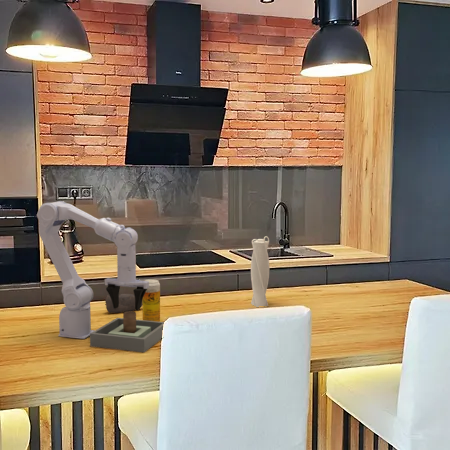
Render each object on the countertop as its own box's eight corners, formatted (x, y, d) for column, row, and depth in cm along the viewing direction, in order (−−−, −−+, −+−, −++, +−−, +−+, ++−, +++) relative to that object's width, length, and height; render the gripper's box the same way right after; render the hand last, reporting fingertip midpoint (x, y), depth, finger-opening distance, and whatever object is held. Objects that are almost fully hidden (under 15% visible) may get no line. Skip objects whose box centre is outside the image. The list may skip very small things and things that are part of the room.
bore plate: (108, 340, 171) (108, 333, 171) (122, 331, 181) (122, 324, 180) (137, 344, 168) (137, 336, 168) (151, 334, 178) (151, 326, 177)
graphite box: (90, 346, 168) (89, 333, 168) (117, 329, 186) (117, 317, 185) (144, 352, 163) (144, 339, 163) (167, 334, 181) (167, 322, 180)
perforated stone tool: (141, 307, 213) (141, 290, 212) (145, 311, 209) (145, 293, 208) (102, 312, 207) (102, 293, 206) (105, 315, 202) (105, 297, 201)
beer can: (143, 326, 189) (143, 283, 187) (141, 321, 195) (141, 279, 193) (161, 325, 191) (161, 282, 189) (158, 320, 197) (158, 278, 195)
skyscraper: (272, 307, 216) (274, 236, 212) (255, 309, 213) (256, 237, 210) (263, 302, 223) (265, 233, 220) (247, 304, 220) (248, 234, 217)
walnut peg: (121, 338, 173) (121, 314, 172) (127, 335, 177) (126, 310, 176) (132, 340, 172) (132, 315, 171) (138, 336, 176) (138, 311, 175)
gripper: (99, 267, 172) (100, 309, 174) (142, 270, 168) (142, 314, 170) (110, 263, 179) (111, 304, 180) (151, 266, 175) (151, 308, 176)
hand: (126, 308), depth 175 cm, fingers open, 7 cm apart
